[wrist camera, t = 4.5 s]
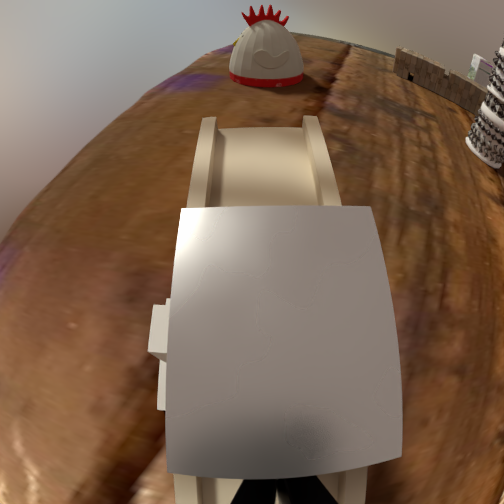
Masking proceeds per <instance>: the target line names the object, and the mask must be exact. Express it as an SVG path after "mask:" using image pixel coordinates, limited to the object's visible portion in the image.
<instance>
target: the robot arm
mask: <svg viewBox="0 0 504 504" xmlns="http://www.w3.org/2000/svg"><path fill="white" fill-rule="evenodd" d="M276 493H277V496H278V501H279V504H339V503H338V502H337V501H336V500H335V498H334V497H333V496H332V495H331V493H330V492H329V491H328V490H327V488H326V487H325V486H324V484H323V483H322V482H321V481H320V479H319V478H318V477H317V475H313V476H304V477H294V478H280V479H243V481H242V483H241V485H240V487H239V488H238V490H237V492H236V494H235V496H234V498H233V499H232V501H231V503H230V504H275V502H276Z"/></svg>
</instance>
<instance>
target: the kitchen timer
mask: <svg viewBox="0 0 504 504" xmlns="http://www.w3.org/2000/svg"><path fill="white" fill-rule="evenodd" d="M280 14H281V11H280V10H279V11H278V12H277V13H276V14H275V15H273V9H272V5H269V8H268V12H267V15H265V13H264V9H263V5H261V7H260V10H259V14H258V15H257V16H256V15H255V13H254V10H253V8H252V6H250V15H249V16H246V15H245V14H244V13H242V15H243V17H244V19H245V20H246V22H247V23H248V25H249V27H247V29H245V30H244V31H243V33H241V35H240V36H239V38H238V39H237V40H236V41H235V42H234V43H233V45H234V49H233V52H232V55H231V59H230V65H229V70H230V78H231V79H232V80H233V81H234V82H237V83H239V84H243V85H248V86H255V87H282V86H289V85H294V84H296V83H299V82H300V81H301V80H302V79H303V61H302V57H301V54H300V50H299V47H298V45H297V43H296V41H295V39H294V37H293V36H292V35H291V33H290V32H289V31H288V30H287V29H286V28H285V27H284V26H285V24H286V23H287V20H288V18H289V16H286V18H285V19H284V20H283V21H279V17H280Z"/></svg>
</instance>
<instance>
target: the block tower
mask: <svg viewBox="0 0 504 504" xmlns="http://www.w3.org/2000/svg"><path fill="white" fill-rule="evenodd" d="M393 72H395V73H397V76H399V77H402V78H404V79H408V77H409V75H410V72H411V73H413V74H414V77H413V82H414V83H416V84H418V85H420V86H422V87H425V88H427V89H429V90H431V91H434V92H435V93H437V94H439V95H441V96H443V97H445V98H447V99H449V100H451V101H452V102H454V103H456V104H458V105H460V106H461V107H463V108H465V109H467V110H468V111H470V112H472V113H473V114H475V115H477V116H479V115H478V109H481V106H482V103H483V102H484V101H485V98H486V95H487V92H488V89H487V88H485V87H484V86H482V85H480V84H478V83H477V82H475V81H473V80H472V79H470V78H469V77H467V76H464V75H463V74H461V73H459V72H457V71H453V70H450V72H449V75H448V76H447V75H446V74H444V72H445V65H443V64H441V63H438V62H436V61H434V60H432V59H429V58H427V57H424V55H421V54H419V53H416V52H414V51H411V50H408V49H405V48H403V47H400V46H398V47H397V48H396V54H395V60H394V66H393Z"/></svg>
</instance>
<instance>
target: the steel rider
mask: <svg viewBox="0 0 504 504" xmlns="http://www.w3.org/2000/svg"><path fill="white" fill-rule="evenodd" d="M165 416H166V456H167V472H168V473H174V474H181V475H189V476H198V477H208V478H223V479H280V478H294V477H304V476H313V475H321V474H328V473H334V472H340V471H345V470H350V469H355V468H360V467H364V466H369V465H373V464H377V463H380V462H384V461H388V460H391V459H395V458H398V457H401V456H402V387H401V371H400V359H399V349H398V340H397V332H396V324H395V317H394V310H393V304H392V298H391V292H390V287H389V282H388V276H387V271H386V267H385V262H384V257H383V253H382V249H381V244H380V240H379V236H378V232H377V228H376V225H375V221H374V217H373V214H372V210H371V207H369V206H318V205H285V206H233V207H206V208H185V209H182V210H181V216H180V223H179V230H178V237H177V245H176V253H175V261H174V270H173V279H172V289H171V300H170V312H169V325H168V341H167V361H166V403H165Z"/></svg>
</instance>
